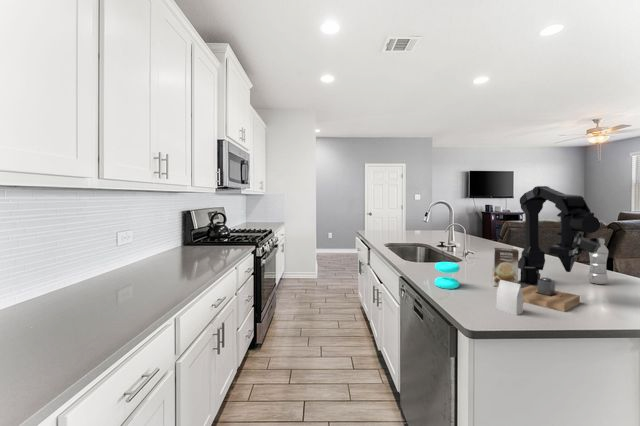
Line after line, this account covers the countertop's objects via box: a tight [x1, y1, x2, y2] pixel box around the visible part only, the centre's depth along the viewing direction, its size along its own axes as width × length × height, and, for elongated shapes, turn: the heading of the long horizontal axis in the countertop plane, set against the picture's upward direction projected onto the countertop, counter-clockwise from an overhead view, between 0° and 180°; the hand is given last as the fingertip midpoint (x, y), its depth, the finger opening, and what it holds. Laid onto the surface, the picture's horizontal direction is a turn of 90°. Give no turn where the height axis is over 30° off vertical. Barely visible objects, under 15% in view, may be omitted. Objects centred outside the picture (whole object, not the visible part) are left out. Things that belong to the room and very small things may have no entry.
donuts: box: [434, 261, 461, 290], centre depth 137 cm, size 10×10×10 cm
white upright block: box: [496, 280, 524, 316], centre depth 107 cm, size 4×7×10 cm, turn 29°
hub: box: [521, 285, 581, 313], centre depth 117 cm, size 16×14×3 cm
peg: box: [537, 277, 556, 297], centre depth 117 cm, size 4×4×9 cm
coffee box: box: [491, 247, 520, 288], centre depth 137 cm, size 9×6×16 cm
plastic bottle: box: [587, 237, 609, 285], centre depth 139 cm, size 6×7×20 cm
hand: (568, 271), depth 117 cm, fingers closed
